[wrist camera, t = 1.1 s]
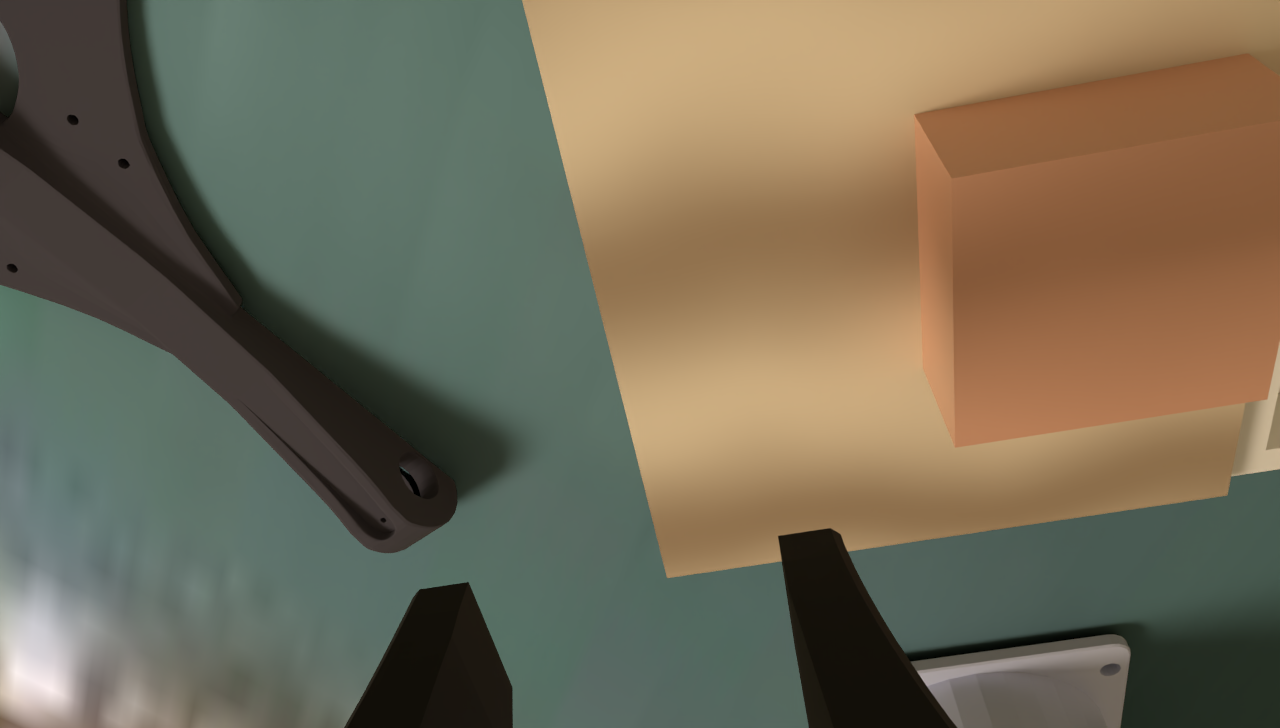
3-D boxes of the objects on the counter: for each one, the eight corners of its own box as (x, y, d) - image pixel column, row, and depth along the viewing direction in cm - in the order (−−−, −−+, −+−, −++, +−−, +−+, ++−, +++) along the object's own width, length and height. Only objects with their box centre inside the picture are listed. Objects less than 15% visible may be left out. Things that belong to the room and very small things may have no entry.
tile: (1205, 323, 19) (1267, 399, 17) (923, 368, 19) (954, 447, 18) (1248, 53, 16) (1328, 112, 14) (914, 114, 16) (951, 178, 15)
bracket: (242, 610, 27) (211, 701, 25) (-379, 215, 20) (-500, 293, 18) (688, 314, 22) (698, 395, 20) (74, -347, 15) (-16, -336, 13)
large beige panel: (1173, 417, 23) (1227, 495, 21) (662, 496, 24) (667, 577, 22) (1282, -323, 15) (1386, -309, 13) (506, -158, 16) (491, -122, 14)
